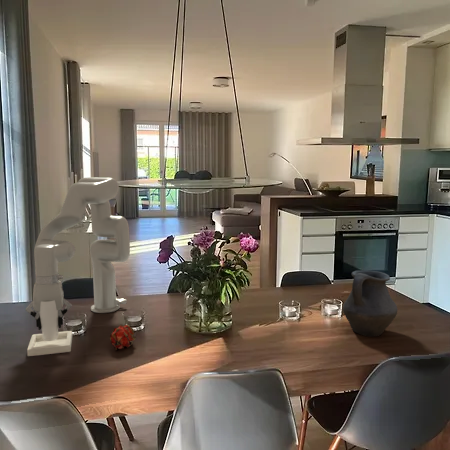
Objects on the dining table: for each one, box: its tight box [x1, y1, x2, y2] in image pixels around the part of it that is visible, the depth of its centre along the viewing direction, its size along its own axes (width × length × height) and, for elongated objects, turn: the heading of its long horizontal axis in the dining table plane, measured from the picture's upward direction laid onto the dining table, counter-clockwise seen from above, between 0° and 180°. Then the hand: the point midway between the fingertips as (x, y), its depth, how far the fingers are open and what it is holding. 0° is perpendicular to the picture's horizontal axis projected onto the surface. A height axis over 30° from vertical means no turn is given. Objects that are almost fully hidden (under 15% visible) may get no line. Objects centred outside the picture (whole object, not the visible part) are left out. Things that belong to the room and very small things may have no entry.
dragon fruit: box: [109, 324, 137, 351], centre depth 164 cm, size 8×8×12 cm
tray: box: [27, 330, 73, 357], centre depth 165 cm, size 14×14×2 cm
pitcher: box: [342, 269, 399, 338], centre depth 177 cm, size 21×22×25 cm
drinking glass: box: [39, 300, 59, 341], centre depth 164 cm, size 7×7×15 cm
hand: (50, 327), depth 164 cm, fingers closed on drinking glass, 6 cm apart
